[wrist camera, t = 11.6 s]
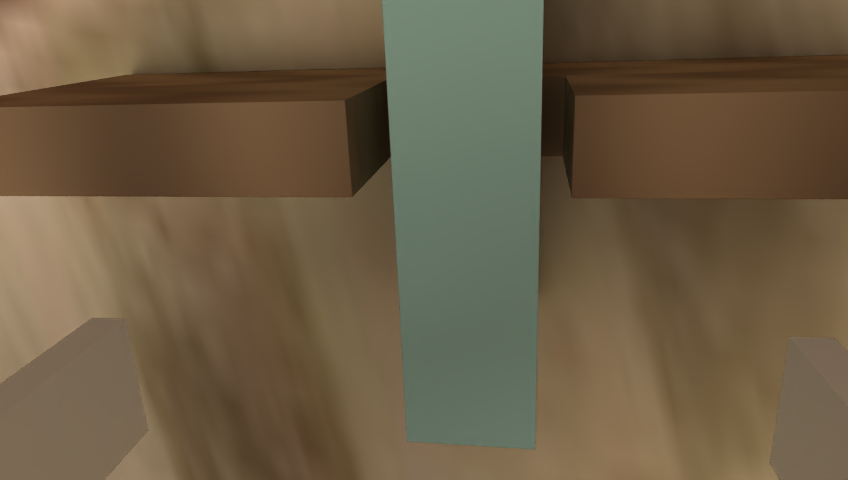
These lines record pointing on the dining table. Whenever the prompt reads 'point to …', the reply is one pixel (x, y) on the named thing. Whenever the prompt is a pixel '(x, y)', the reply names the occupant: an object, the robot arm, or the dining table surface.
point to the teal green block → (467, 214)
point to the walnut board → (370, 136)
